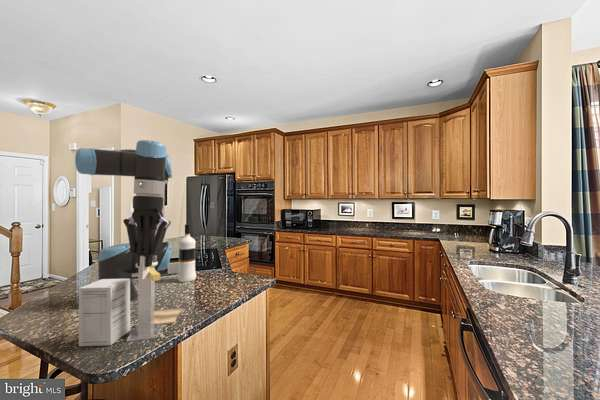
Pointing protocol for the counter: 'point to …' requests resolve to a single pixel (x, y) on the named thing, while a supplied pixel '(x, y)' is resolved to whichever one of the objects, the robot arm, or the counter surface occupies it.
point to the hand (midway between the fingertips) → (144, 277)
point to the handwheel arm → (153, 270)
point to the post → (145, 312)
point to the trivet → (165, 316)
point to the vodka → (187, 257)
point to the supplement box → (104, 312)
